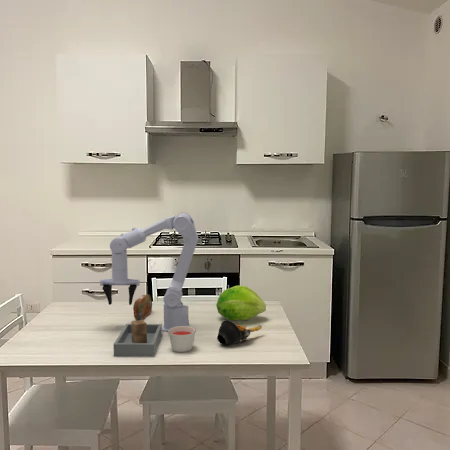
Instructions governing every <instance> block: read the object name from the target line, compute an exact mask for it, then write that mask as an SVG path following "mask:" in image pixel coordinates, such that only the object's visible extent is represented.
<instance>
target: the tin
mask: <svg viewBox="0 0 450 450" xmlns="http://www.w3.org/2000/svg"><path fill="white" fill-rule="evenodd" d="M132 308H133V317H134V319H135V321H138V320H143V321H144V320H145V319H146V318H147V317H148V316H150V315H151V313H152V310H153V299H152V297H151V295H150V294H143V295H141V296H140V297H138V298H137V299H135V301H134V302H133V307H132Z"/></svg>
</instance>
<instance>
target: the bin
mask: <svg viewBox="0 0 450 450" xmlns="http://www.w3.org/2000/svg"><path fill="white" fill-rule="evenodd" d="M162 328H163V324H162V323H156V324H155V323H147V343H133V342H132V325H131V323H126V324H125V325H124V327H123V329H122V330H121V331H120V334H119V335H118V336H117V338H116V339H115V341H114V342H113V357H155V355H156V352H157V349H158V347H159V344H160V342H161V338H162V336H163V331H162Z"/></svg>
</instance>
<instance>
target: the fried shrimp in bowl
mask: <svg viewBox="0 0 450 450" xmlns="http://www.w3.org/2000/svg"><path fill="white" fill-rule="evenodd" d="M262 328H263V326H262V325H260V324H259V325H257V326H254V327H251V328H247V325H244V326H243V325H239V324H236V323H235V322H234V321H232V320H228V319H225V320H224V319H223V321H221V323H220V326H219V328H218V333H217V337H216V339H217V341H218V342H219V344H221V345H222V346H226V345H233V344H235V343H240V344H241V343H245V342H246V341H248V338H249V337H250V335H251V333H253V332H256V331H257V332H258V331H259V330H261V329H262Z"/></svg>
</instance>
